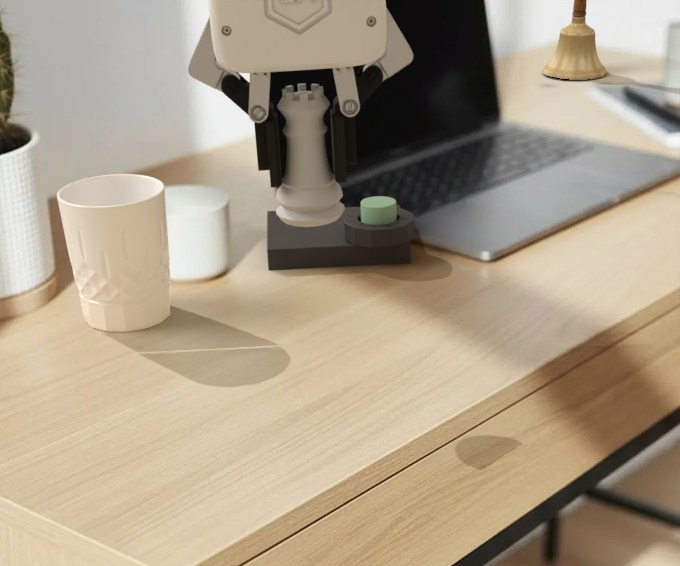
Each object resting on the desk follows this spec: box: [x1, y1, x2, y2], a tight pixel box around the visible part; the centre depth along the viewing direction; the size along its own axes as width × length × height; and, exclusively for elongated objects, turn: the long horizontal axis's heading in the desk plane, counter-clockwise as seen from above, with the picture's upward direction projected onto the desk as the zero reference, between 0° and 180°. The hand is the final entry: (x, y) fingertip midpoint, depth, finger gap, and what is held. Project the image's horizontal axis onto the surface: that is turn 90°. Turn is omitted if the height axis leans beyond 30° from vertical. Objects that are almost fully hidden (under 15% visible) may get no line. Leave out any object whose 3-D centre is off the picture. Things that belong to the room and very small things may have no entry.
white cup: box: [56, 173, 171, 333], centre depth 91 cm, size 8×8×10 cm
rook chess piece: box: [275, 82, 346, 227], centre depth 75 cm, size 4×4×8 cm
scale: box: [266, 204, 416, 271], centre depth 104 cm, size 12×11×4 cm
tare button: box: [360, 195, 397, 225], centre depth 101 cm, size 3×3×2 cm
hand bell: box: [542, 0, 607, 81], centre depth 153 cm, size 8×8×16 cm
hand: (308, 175), depth 76 cm, fingers closed on rook chess piece, 3 cm apart
